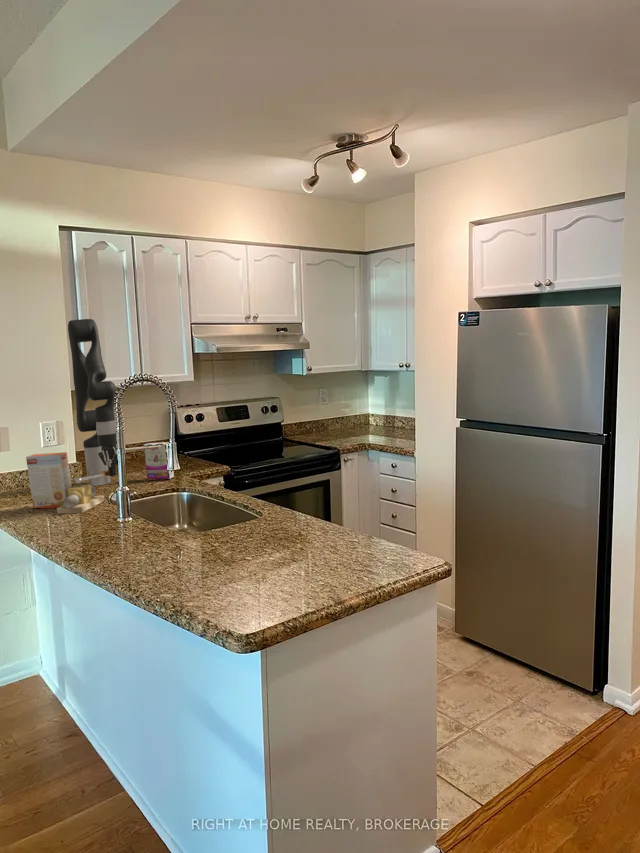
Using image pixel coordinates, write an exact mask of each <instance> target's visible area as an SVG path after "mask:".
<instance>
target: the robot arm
mask: <svg viewBox="0 0 640 853" xmlns="http://www.w3.org/2000/svg"><path fill="white" fill-rule="evenodd" d="M67 332H68V333H67V334H68V339H69V345H70V346H69V347H70V352H71V359H72V361H71V362H72V378H73V386H74V394H75V404H76V405H75V406H76V409H75V410H76V425H77V428H78V431H80V432H82V433H86V432H95V434H93V435H92V436H90V437H88V438H86V439H85V440H83V443H82V444H83V449H84V458H85V467H86V476H90V475H94V474H98V473H101V472H102V471H106V470H108V471H109V476H106V477H105V476H100V477H96V478H92V479H88V480H87V482H88V483H87V485H88V484H90V486H92V487H97V486H104V485H108V484H110V483H111V481H112V480H111V477H116V476H117V470H116V466H119V464H118V460H117V451H118V447H117V441H116V427H117V423H116V418H115V400H114V397H115V398H116V395H115V393H116V392H117V387H116V384H115V383H114V382H113V381H111V380H107V381H106V378H107V372H106V368H105V364H104V361H103V356H102V349H101V348H102V347H101V343H100V342H101V341H100V336H99V330H98V326H97V323H96V321H95V320H94V319H92V318H84V319H83V318H82V319H71V320H69V321H68V324H67ZM87 342H89V343H90V342H91V345H90V348H89V350H88V352H87V354H86V355H85V354H84V353H83V351H82V349H81V348H80V346H79V344H80V343H87ZM116 394H117V393H116ZM89 400H91V401H95V402H96V401H103V400H106V402H105V403H104V404H103V405H100V406H99V405H98V406H97V407H95V409H91V410H86V407H87V406H86V405H87V403H88V401H89Z"/></svg>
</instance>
